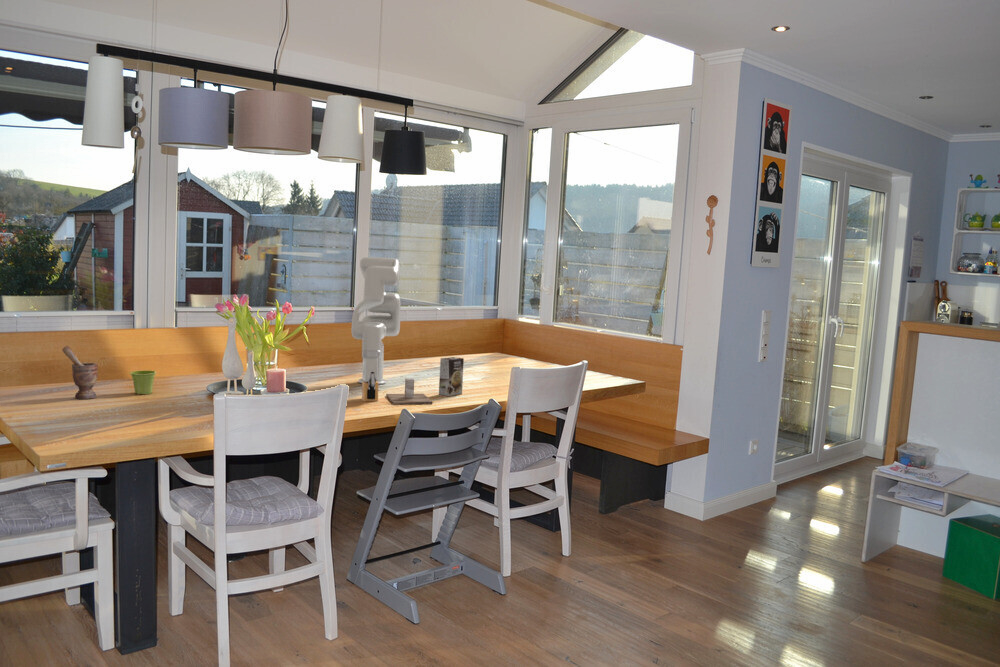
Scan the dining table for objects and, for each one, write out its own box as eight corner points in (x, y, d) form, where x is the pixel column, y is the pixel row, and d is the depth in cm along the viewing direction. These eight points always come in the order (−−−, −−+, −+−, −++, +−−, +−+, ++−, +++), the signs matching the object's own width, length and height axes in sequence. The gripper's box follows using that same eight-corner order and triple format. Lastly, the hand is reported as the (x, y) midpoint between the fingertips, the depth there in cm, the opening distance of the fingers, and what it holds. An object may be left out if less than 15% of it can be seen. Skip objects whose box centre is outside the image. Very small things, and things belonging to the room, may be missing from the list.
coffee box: (449, 396, 334) (450, 359, 332) (438, 394, 338) (439, 358, 336) (462, 394, 341) (464, 358, 339) (451, 391, 345) (453, 356, 343)
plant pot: (137, 396, 302) (137, 374, 301) (125, 393, 308) (125, 371, 307) (160, 393, 310) (160, 372, 309) (148, 390, 315) (148, 369, 315)
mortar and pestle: (64, 401, 288) (63, 348, 286) (62, 396, 295) (61, 345, 293) (99, 399, 295) (98, 347, 292) (96, 395, 302) (95, 344, 300)
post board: (386, 396, 327) (386, 375, 326) (423, 395, 332) (423, 375, 331) (393, 404, 310) (394, 382, 309) (432, 404, 315) (433, 382, 314)
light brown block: (361, 398, 320) (362, 380, 319) (375, 398, 322) (376, 380, 321) (363, 401, 315) (364, 382, 314) (377, 401, 316) (378, 382, 316)
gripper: (359, 351, 323) (358, 393, 325) (365, 357, 307) (363, 401, 309) (377, 351, 326) (375, 393, 327) (383, 357, 309) (382, 401, 311)
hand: (369, 396), depth 318 cm, fingers closed on light brown block, 5 cm apart
